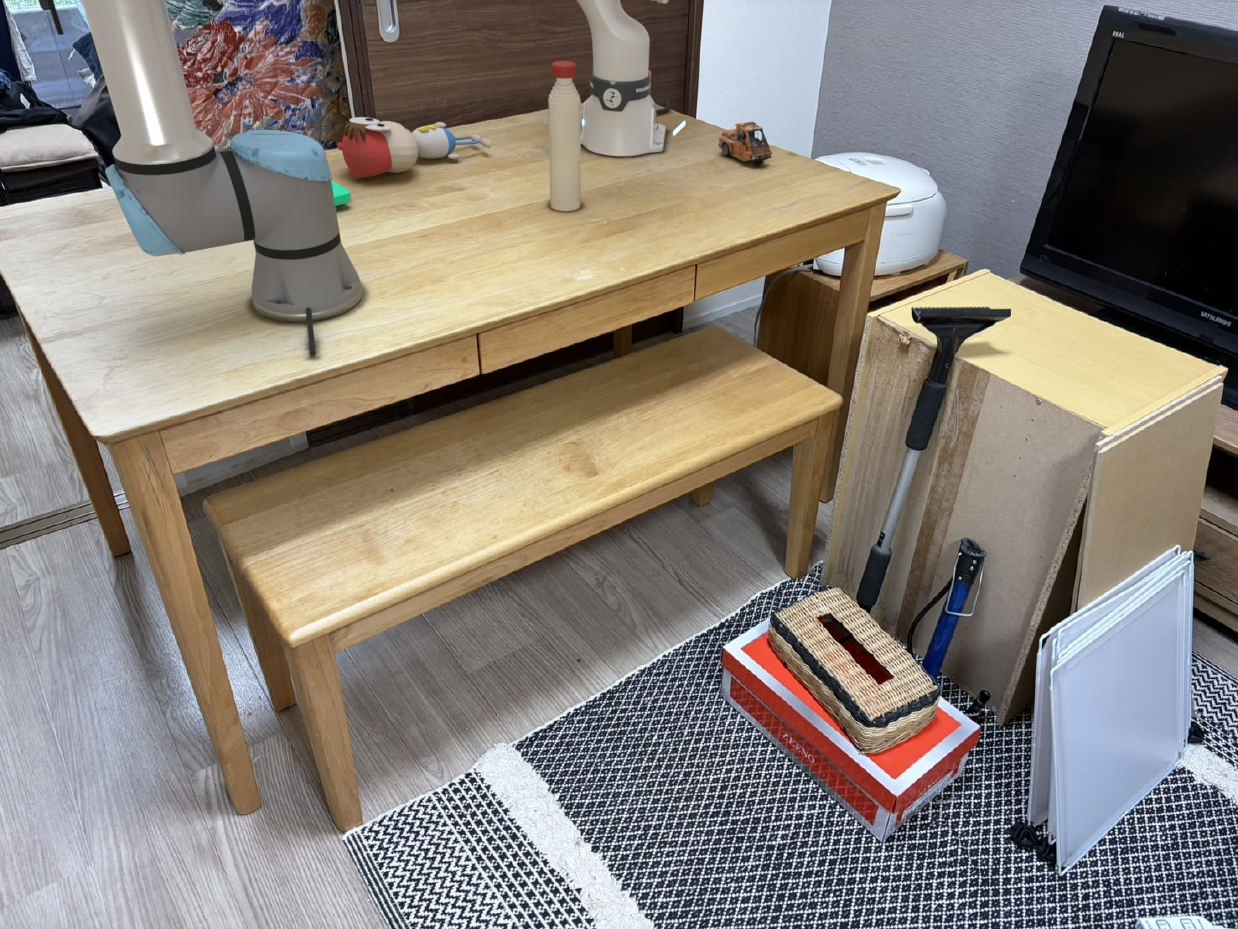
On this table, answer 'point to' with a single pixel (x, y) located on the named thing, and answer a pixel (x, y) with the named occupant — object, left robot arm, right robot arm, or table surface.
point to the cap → (564, 69)
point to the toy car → (745, 143)
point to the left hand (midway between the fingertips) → (108, 29)
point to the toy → (395, 145)
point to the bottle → (565, 146)
